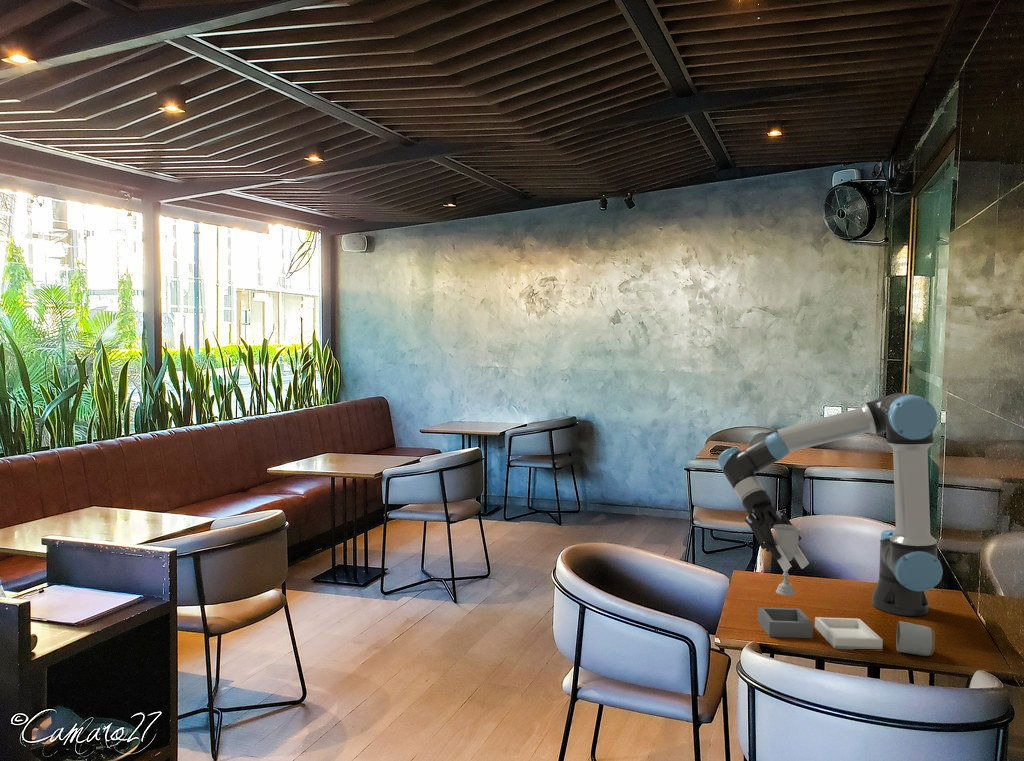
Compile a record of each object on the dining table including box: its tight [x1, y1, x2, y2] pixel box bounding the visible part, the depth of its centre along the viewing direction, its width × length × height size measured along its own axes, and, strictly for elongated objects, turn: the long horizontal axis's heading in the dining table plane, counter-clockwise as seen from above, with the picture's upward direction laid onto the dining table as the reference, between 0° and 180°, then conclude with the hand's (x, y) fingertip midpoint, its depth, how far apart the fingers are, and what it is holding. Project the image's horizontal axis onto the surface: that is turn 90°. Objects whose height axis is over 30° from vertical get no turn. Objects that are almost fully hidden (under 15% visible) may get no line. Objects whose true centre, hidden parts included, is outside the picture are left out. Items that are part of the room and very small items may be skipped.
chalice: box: [773, 524, 802, 596], centre depth 208 cm, size 7×7×18 cm
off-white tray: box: [814, 616, 884, 650], centre depth 203 cm, size 12×15×3 cm
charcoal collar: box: [757, 606, 814, 639], centre depth 209 cm, size 11×11×4 cm
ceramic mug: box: [895, 620, 936, 657], centre depth 195 cm, size 11×8×8 cm
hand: (796, 567), depth 205 cm, fingers closed on chalice, 6 cm apart
